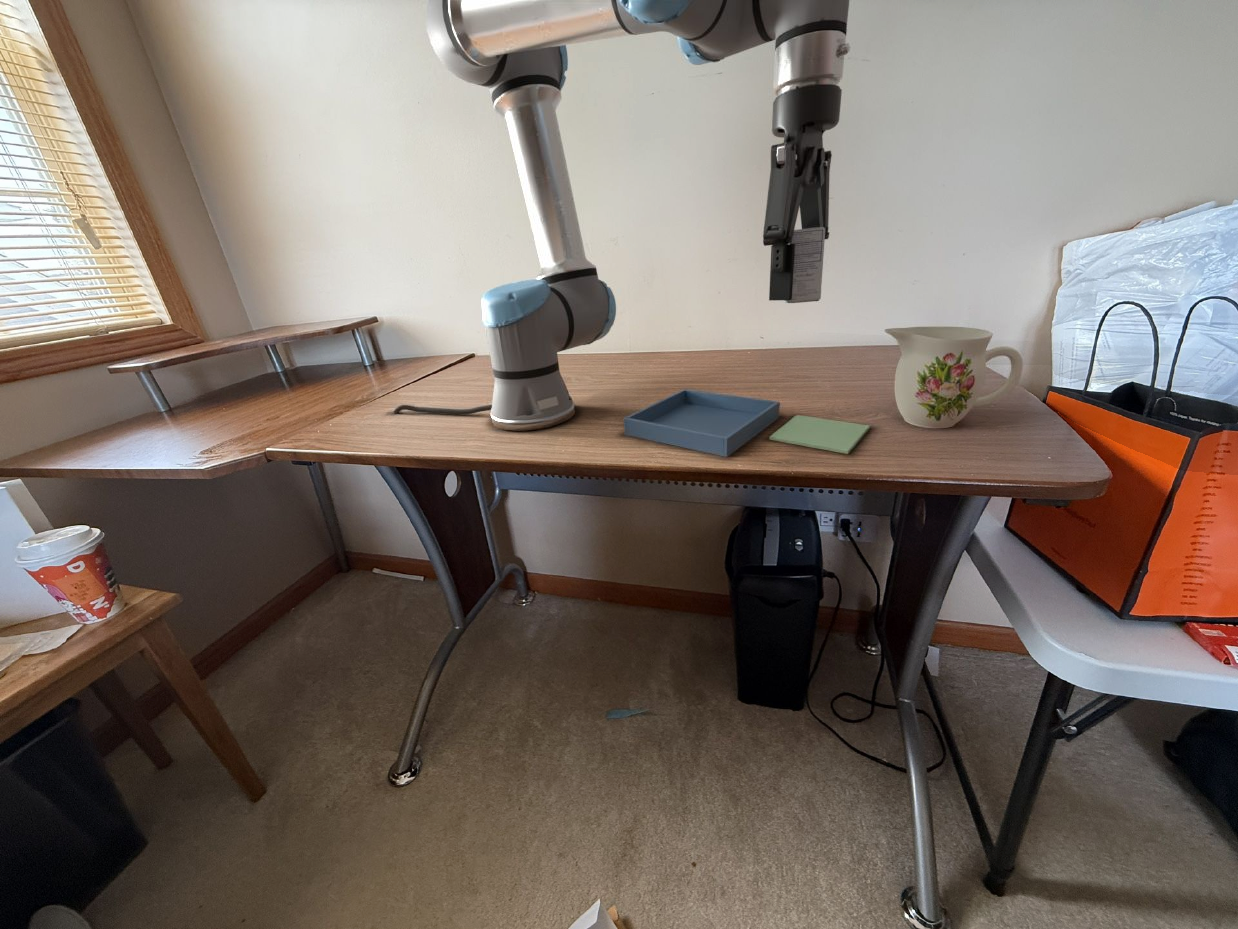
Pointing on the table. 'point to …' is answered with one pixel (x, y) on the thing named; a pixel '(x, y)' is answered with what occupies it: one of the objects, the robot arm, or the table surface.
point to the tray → (703, 421)
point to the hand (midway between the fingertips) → (794, 295)
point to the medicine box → (807, 264)
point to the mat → (821, 433)
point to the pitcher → (946, 373)
